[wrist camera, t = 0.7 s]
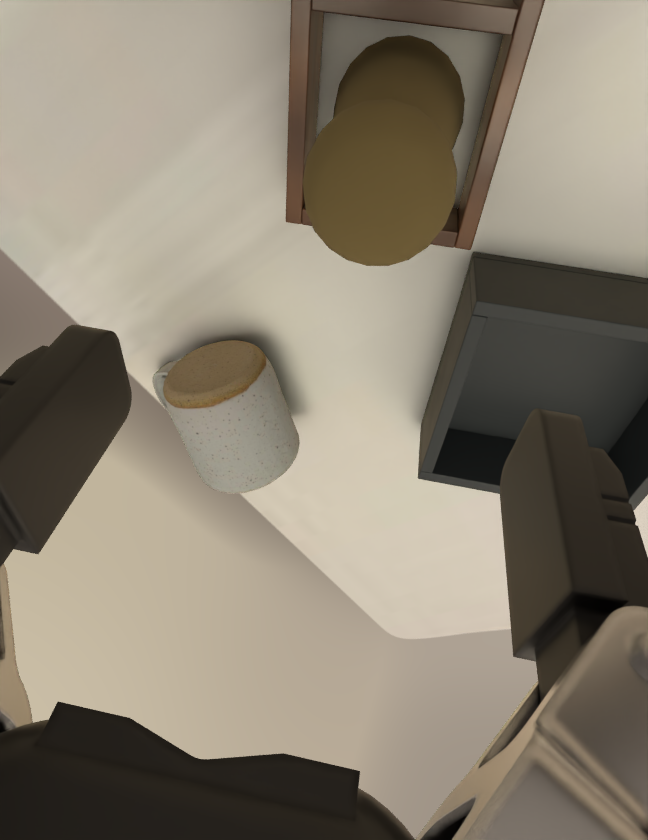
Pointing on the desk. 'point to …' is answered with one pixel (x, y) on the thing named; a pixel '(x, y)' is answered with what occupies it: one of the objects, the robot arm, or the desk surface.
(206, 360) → the ceramic mug
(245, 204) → the desk surface
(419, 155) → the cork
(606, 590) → the robot arm
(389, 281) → the desk surface
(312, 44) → the divided wooden tray
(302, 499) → the desk surface
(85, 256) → the desk surface
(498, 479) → the open box
